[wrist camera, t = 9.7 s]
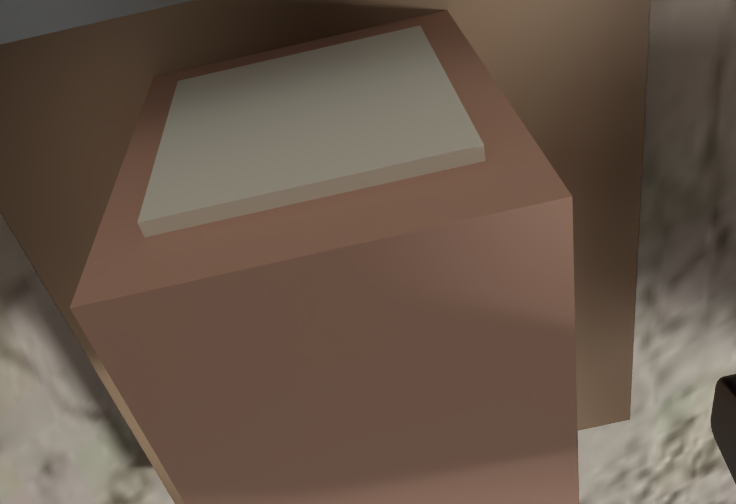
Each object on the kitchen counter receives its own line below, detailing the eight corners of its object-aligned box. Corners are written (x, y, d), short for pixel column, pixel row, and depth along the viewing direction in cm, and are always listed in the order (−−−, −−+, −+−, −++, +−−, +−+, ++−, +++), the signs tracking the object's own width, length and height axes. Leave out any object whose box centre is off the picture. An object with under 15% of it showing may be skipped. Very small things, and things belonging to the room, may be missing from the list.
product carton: (485, 319, 16) (580, 574, 11) (267, 367, 16) (265, 640, 11) (445, -3, 12) (572, 179, 7) (149, 66, 12) (59, 292, 7)
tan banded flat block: (620, -232, 11) (761, -226, 8) (607, 377, 20) (674, 502, 16) (-106, -63, 11) (-255, 11, 8) (187, 468, 20) (170, 608, 17)
